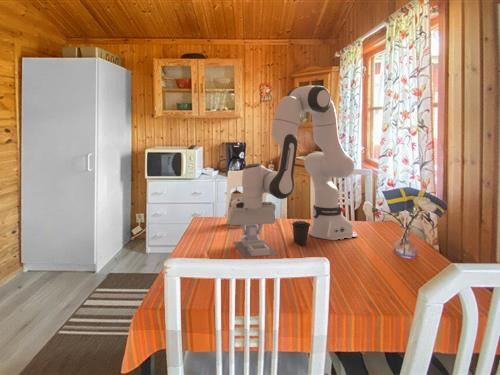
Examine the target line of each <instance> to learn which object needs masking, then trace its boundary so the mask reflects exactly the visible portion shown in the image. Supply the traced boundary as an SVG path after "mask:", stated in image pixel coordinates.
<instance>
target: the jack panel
mask: <svg viewBox="0 0 500 375" xmlns="http://www.w3.org/2000/svg"><path fill="white" fill-rule="evenodd" d="M233 245H235V247H236V249H237V250H238V252H239V253H240V254H241V256H242V257H243V258H251V257H265V256H268V257H269V256H278V255H279V253H277V252H276V251H275V249H273V248H272V247H271V246H270V245H269V243H267V241H265V240H262V239H261V238H260V237H259V236H258V235H257V240H246V239H245V235H241V236H240V241H233Z"/></svg>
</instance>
